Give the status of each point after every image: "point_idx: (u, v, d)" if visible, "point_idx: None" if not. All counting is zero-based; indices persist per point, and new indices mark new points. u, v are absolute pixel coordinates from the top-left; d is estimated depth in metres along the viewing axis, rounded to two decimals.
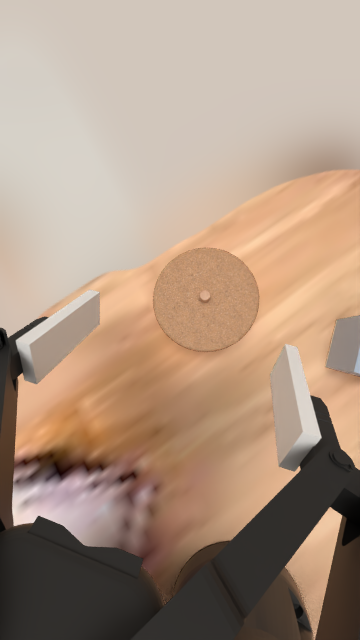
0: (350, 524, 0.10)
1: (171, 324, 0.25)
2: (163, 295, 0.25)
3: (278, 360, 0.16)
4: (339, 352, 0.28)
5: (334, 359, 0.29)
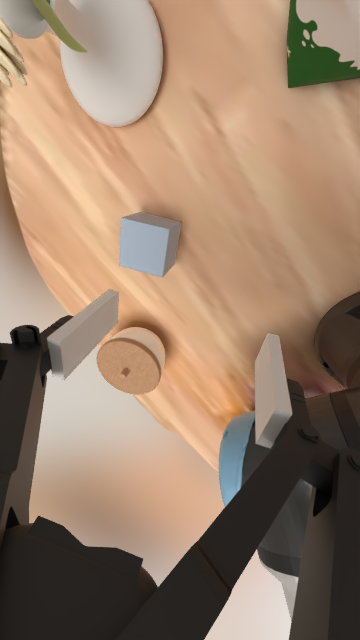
0: (319, 495, 0.10)
1: (145, 388, 0.40)
2: (129, 389, 0.41)
3: (261, 348, 0.17)
4: None
5: None
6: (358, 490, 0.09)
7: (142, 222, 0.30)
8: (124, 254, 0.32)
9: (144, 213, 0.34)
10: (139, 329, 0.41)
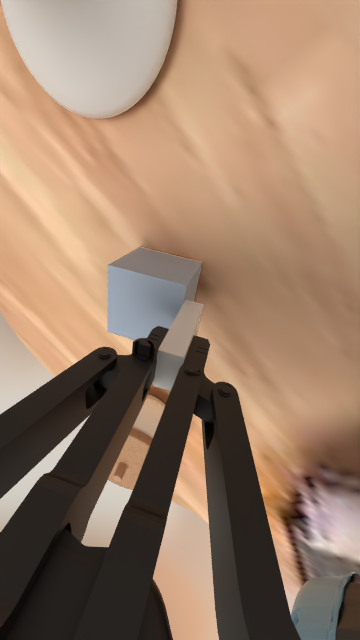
0: (208, 429, 0.12)
1: None
2: (128, 485, 0.30)
3: None
4: None
5: None
6: (229, 412, 0.11)
7: (142, 271, 0.18)
8: (115, 317, 0.20)
9: (146, 249, 0.23)
10: None
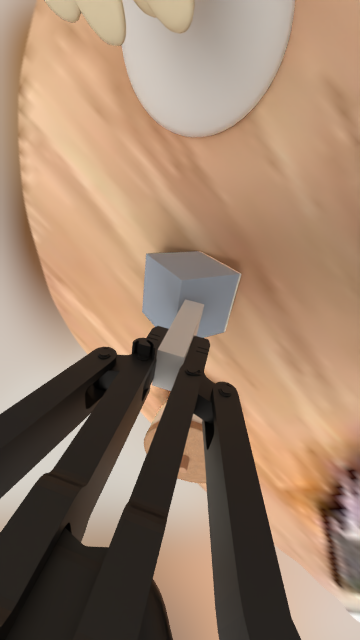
0: (208, 429, 0.12)
1: None
2: (186, 477, 0.31)
3: None
4: None
5: None
6: (230, 412, 0.11)
7: (164, 263, 0.21)
8: (146, 299, 0.24)
9: (202, 253, 0.24)
10: None
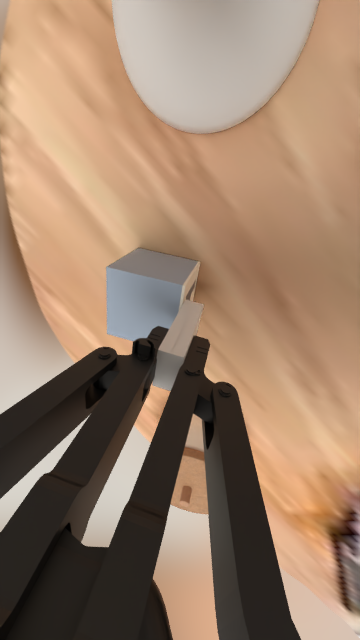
0: (208, 429, 0.12)
1: None
2: (187, 508, 0.29)
3: None
4: None
5: None
6: (229, 412, 0.11)
7: (132, 255, 0.21)
8: None
9: (195, 263, 0.22)
10: None
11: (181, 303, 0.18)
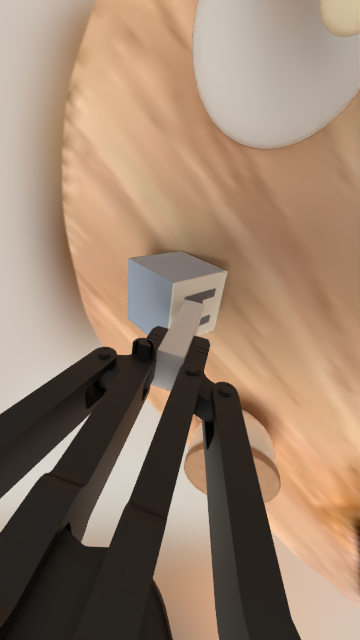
0: (208, 429, 0.12)
1: None
2: None
3: None
4: None
5: None
6: (230, 413, 0.11)
7: (164, 255, 0.23)
8: None
9: (219, 271, 0.21)
10: None
11: (172, 301, 0.18)
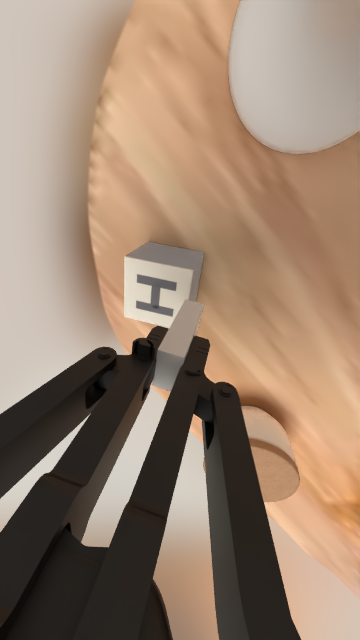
0: (208, 429, 0.12)
1: (271, 498, 0.29)
2: None
3: None
4: None
5: None
6: (230, 412, 0.11)
7: (179, 248, 0.25)
8: None
9: (185, 267, 0.21)
10: (260, 416, 0.30)
11: (124, 272, 0.22)
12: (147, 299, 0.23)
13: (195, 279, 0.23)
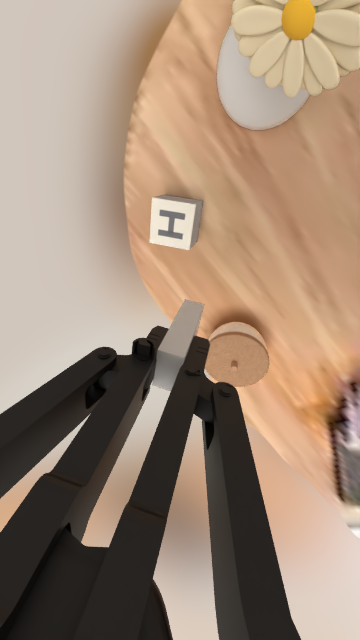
0: (208, 429, 0.12)
1: (250, 380, 0.42)
2: (232, 382, 0.43)
3: None
4: None
5: None
6: (230, 412, 0.11)
7: (186, 198, 0.37)
8: None
9: (190, 203, 0.33)
10: (243, 323, 0.42)
11: None
12: (166, 227, 0.35)
13: (197, 215, 0.35)
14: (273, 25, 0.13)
